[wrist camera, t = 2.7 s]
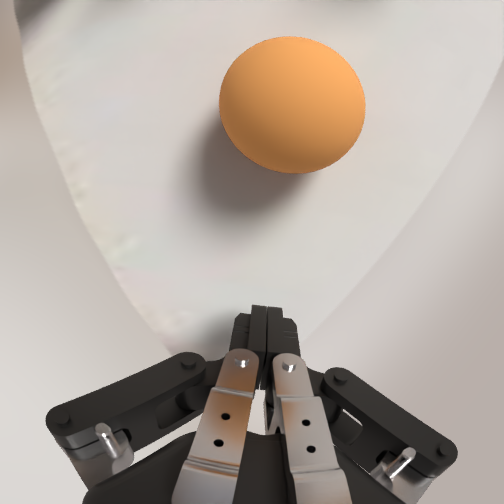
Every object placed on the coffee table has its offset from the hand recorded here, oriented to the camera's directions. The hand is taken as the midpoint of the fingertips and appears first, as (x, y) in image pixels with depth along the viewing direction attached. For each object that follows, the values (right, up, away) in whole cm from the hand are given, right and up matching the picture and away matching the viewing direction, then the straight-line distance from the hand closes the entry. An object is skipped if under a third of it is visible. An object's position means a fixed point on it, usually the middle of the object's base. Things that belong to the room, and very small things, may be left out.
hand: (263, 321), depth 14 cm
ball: (+1, +10, -4) cm, 10 cm away
